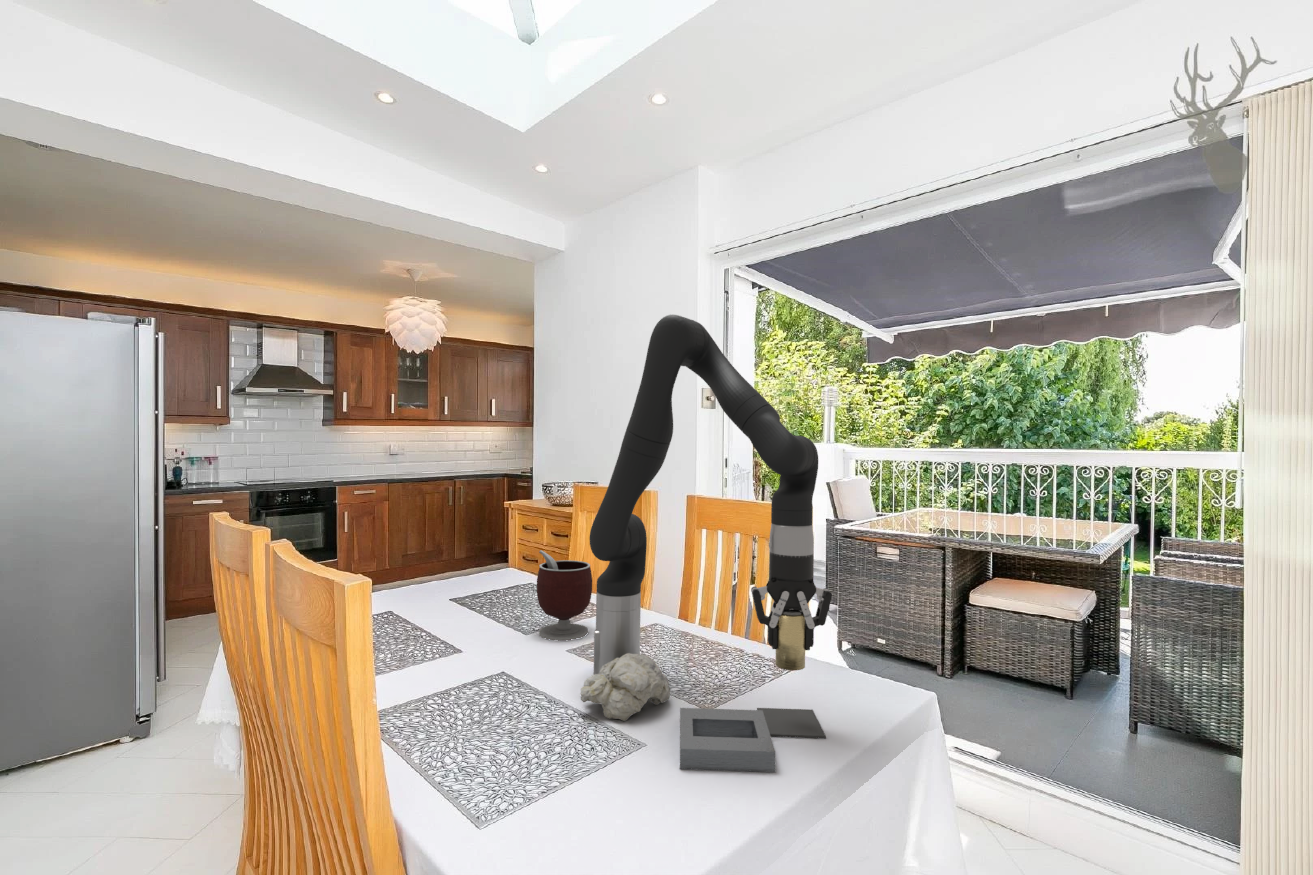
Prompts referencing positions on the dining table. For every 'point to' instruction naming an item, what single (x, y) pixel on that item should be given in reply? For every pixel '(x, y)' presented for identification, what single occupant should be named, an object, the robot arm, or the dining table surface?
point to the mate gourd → (563, 596)
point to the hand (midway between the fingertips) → (790, 647)
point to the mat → (792, 723)
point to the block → (725, 740)
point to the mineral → (626, 686)
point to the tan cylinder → (791, 640)
